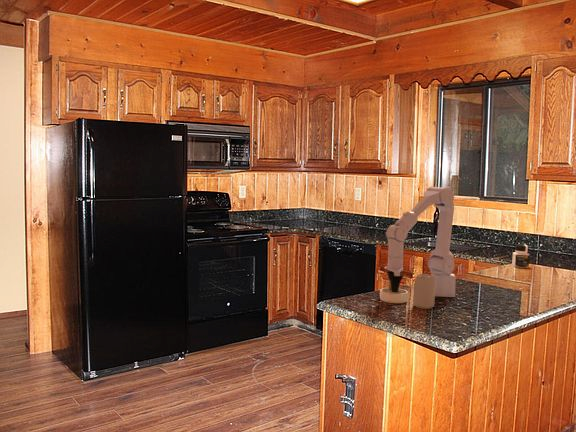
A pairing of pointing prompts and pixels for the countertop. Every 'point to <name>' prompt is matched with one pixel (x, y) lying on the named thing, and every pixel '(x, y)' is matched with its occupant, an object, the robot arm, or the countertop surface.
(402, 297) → the beige shallow bowl
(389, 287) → the beige rectangular block
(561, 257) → the countertop surface
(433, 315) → the countertop surface
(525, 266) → the medicine bottle
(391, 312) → the countertop surface
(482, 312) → the countertop surface
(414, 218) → the robot arm
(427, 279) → the can
